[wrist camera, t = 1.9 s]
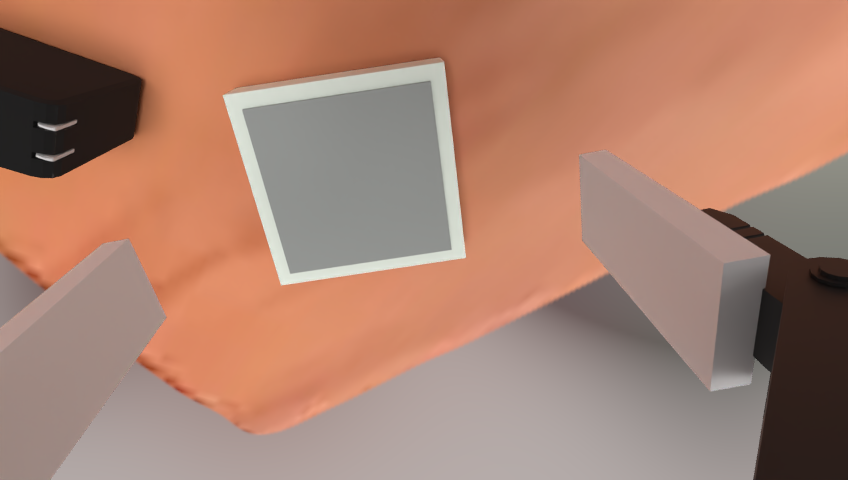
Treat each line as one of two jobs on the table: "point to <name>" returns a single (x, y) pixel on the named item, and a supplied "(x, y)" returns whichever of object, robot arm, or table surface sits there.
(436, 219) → the stand
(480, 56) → the table surface
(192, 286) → the table surface
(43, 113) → the electronic device
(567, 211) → the table surface
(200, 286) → the table surface
